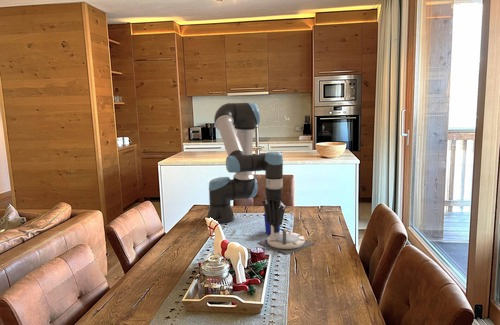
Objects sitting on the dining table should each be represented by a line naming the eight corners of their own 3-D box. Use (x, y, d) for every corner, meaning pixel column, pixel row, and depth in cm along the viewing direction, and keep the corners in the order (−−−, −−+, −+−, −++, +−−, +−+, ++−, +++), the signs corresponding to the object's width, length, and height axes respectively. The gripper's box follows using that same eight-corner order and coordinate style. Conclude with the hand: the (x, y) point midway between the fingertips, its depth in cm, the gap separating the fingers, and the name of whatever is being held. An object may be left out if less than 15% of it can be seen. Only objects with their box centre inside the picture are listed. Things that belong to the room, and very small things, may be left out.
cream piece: (276, 251, 162) (276, 233, 161) (261, 238, 178) (261, 222, 176) (311, 245, 167) (311, 229, 166) (294, 233, 183) (294, 218, 182)
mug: (281, 228, 195) (281, 209, 193) (280, 236, 183) (280, 216, 181) (265, 227, 195) (265, 209, 194) (263, 235, 184) (263, 215, 182)
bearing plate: (258, 243, 174) (258, 237, 173) (285, 234, 185) (285, 228, 185) (286, 254, 160) (286, 247, 160) (314, 244, 172) (314, 237, 171)
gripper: (257, 186, 167) (258, 237, 171) (278, 191, 157) (278, 245, 161) (269, 183, 172) (270, 233, 176) (290, 188, 162) (290, 240, 166)
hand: (274, 238), depth 168 cm, fingers closed
